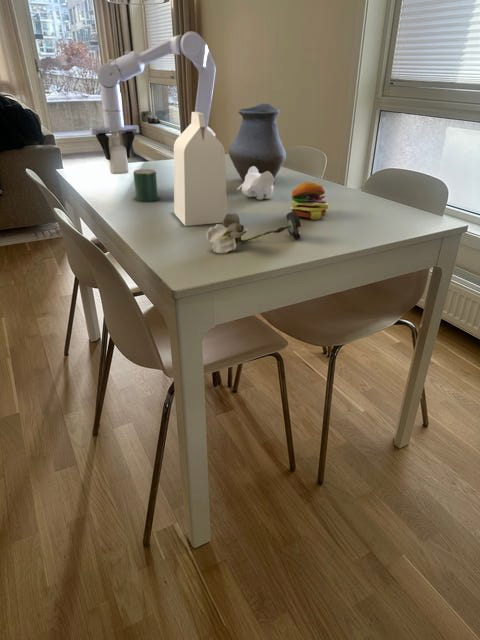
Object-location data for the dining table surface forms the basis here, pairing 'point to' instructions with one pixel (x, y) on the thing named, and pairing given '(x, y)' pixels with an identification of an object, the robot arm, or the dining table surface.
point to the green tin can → (145, 185)
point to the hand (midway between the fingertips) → (118, 158)
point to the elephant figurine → (258, 184)
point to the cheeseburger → (309, 201)
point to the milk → (199, 175)
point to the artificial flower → (243, 232)
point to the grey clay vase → (258, 141)
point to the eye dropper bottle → (118, 157)
